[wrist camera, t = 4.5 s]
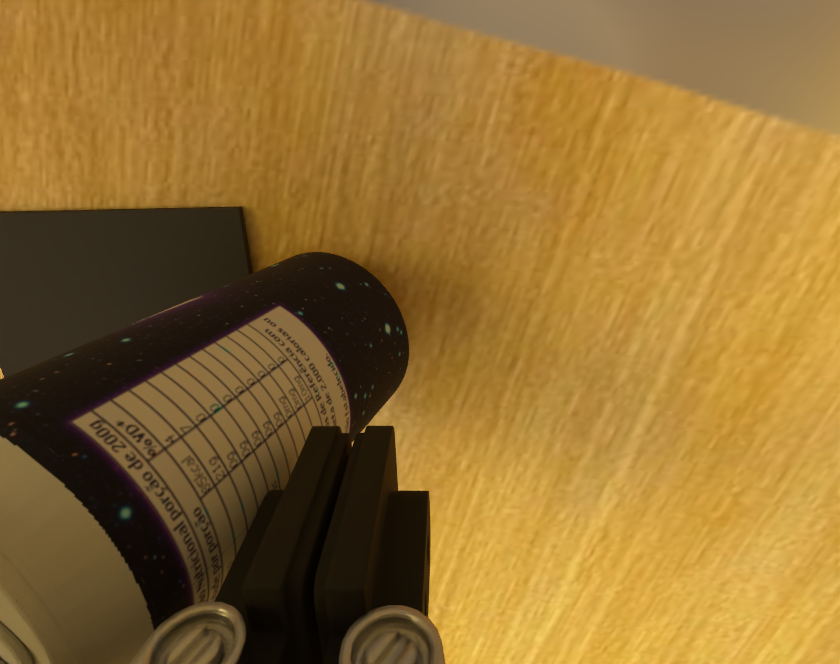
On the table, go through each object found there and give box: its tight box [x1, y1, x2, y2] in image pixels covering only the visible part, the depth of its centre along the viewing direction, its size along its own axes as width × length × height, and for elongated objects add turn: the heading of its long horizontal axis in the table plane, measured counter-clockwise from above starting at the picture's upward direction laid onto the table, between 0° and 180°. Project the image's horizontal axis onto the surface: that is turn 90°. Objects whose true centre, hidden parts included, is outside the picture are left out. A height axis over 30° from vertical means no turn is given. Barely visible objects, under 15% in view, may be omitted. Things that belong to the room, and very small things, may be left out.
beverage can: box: [0, 252, 409, 664], centre depth 13 cm, size 6×6×12 cm
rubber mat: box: [0, 207, 252, 378], centre depth 19 cm, size 9×10×1 cm
